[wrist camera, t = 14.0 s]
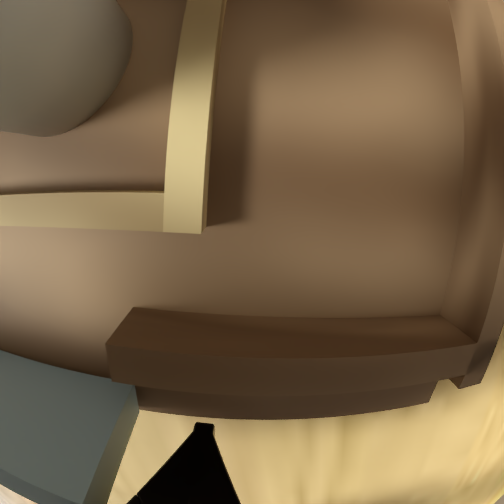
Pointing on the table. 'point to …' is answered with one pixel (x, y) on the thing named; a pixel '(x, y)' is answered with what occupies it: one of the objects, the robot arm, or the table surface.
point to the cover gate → (61, 431)
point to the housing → (270, 210)
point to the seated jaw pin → (59, 62)
